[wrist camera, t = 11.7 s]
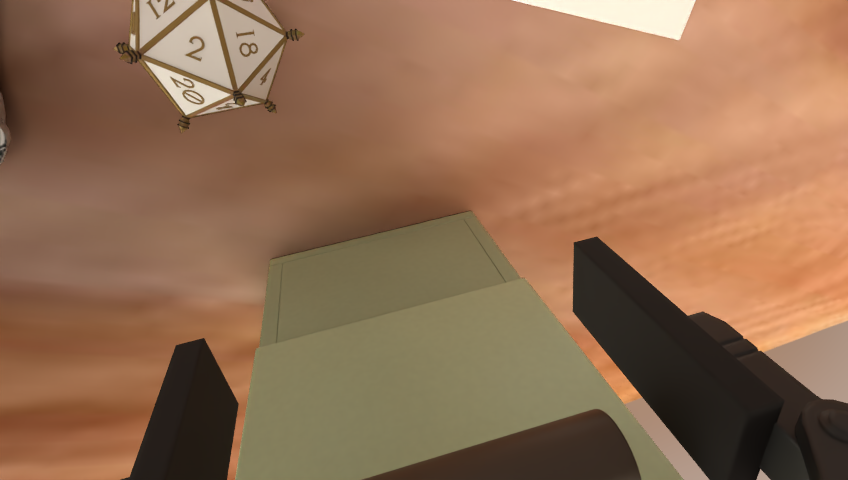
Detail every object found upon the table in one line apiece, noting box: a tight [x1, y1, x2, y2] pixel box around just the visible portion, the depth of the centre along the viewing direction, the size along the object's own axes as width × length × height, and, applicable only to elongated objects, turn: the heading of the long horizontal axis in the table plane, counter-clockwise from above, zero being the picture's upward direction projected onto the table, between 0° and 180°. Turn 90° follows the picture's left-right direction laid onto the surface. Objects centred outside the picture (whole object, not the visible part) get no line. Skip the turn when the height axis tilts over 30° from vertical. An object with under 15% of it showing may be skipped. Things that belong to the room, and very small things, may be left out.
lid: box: [235, 278, 683, 480], centre depth 18 cm, size 18×16×8 cm
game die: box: [113, 0, 304, 133], centre depth 24 cm, size 9×8×10 cm
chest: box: [259, 211, 521, 348], centre depth 36 cm, size 17×16×10 cm
